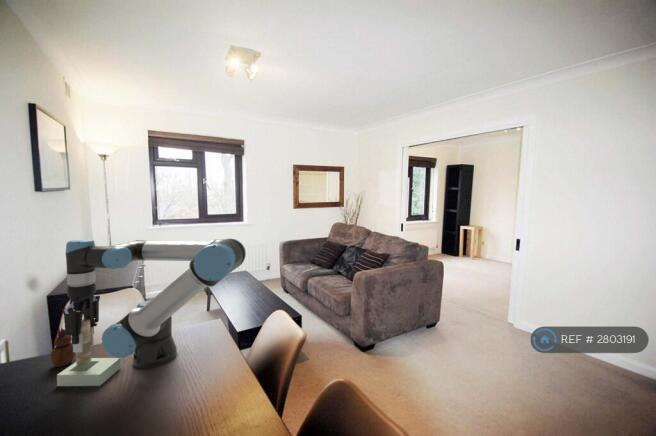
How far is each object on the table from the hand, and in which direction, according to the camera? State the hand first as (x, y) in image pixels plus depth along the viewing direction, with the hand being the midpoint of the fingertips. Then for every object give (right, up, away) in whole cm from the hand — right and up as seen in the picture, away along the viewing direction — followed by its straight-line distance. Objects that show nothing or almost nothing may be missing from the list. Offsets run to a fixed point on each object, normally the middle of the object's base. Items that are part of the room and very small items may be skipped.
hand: (83, 348), depth 99 cm
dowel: (0, -5, 0) cm, 5 cm away
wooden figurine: (-15, -10, +8) cm, 19 cm away
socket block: (+2, -11, +1) cm, 11 cm away
